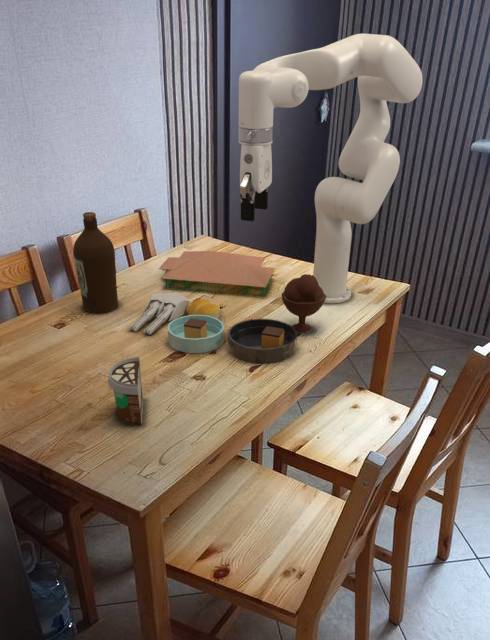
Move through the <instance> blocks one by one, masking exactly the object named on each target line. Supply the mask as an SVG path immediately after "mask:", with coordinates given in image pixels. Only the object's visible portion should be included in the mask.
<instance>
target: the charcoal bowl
mask: <svg viewBox="0 0 490 640" xmlns="http://www.w3.org/2000/svg"><path fill="white" fill-rule="evenodd" d="M267 326H269V327H276V328H282V329H284V345H283V346H280V347H276V348H267V349H263V348H261V344H262V332H263V331H264V329H265V328H266V327H267ZM292 326H293V325H290V324H288V323H287V322H285V321H281V320H277V319H271V318H252V319H246V320H242V321H240V322H237V323H235V324H233V325H232V326H230V328H229V329H228V330H227V349H228V352H229V354H231V356H232V357H235V358H236V359H238V360H240V361H243V362H246V363H251V364H261V365H262V364H264V365H266V364H275V363H279V362H284V361H286V360H289V359H290V358H292V357H293V356H294V355H295V353H296V352H297V347H298V346H297V345H298V332H296V330H295V329H294V328H293V327H292Z"/></svg>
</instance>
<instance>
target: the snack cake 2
mask: <svg viewBox="0 0 490 640" xmlns="http://www.w3.org/2000/svg"><path fill="white" fill-rule="evenodd" d="M283 345H284V329H282V328H276V327H269V326H267V327H266V328H265V329H264V331H263V332H262V344H261V348H263V349H267V348H276V347H280V346H283Z"/></svg>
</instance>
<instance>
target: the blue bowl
mask: <svg viewBox="0 0 490 640" xmlns="http://www.w3.org/2000/svg"><path fill="white" fill-rule="evenodd" d="M190 318H193V319H199V320H205V321H207V337H205V338H197V339H194V338H184V324H185V323H186V322H187V321H188V320H189V319H190ZM166 327H167V328H166V329H167V342H168V345H169V347H171V348H172V349H174V350H175V351H179V352H181V353H186V354H205V353H209V352H212V351H216V350H217V349H219V348H220V347H222V345H224V343H225V325H224V322H222V321H221V319H219V318H218V319H217V318H214V317H211V316H206V315H189V314H188V315H182V316H180V317H178V318H175V319H173V320H171V321H169V323H168V324H167V326H166Z"/></svg>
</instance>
